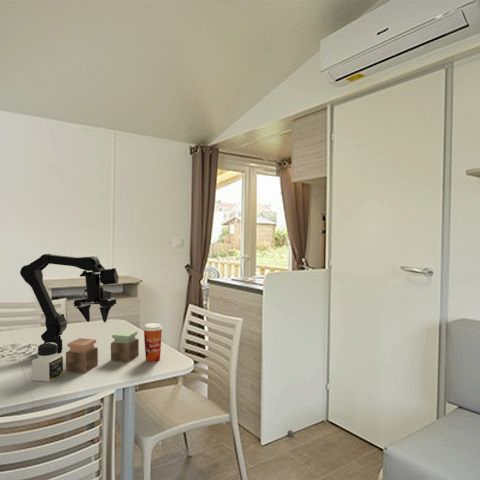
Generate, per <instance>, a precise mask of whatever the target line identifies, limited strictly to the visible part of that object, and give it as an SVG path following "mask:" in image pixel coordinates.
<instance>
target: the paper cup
mask: <svg viewBox="0 0 480 480" xmlns="http://www.w3.org/2000/svg"><path fill="white" fill-rule="evenodd" d="M142 329H143V335H144V353H145V361H146V362H148V363H155V362H159V361H160V359H161V352H162V349H161V348H162V332H163V331H162V330H163V325H162V323H156V322H154V323H153V322H152V323H146V324H144V326H143V328H142Z"/></svg>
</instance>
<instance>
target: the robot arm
mask: <svg viewBox="0 0 480 480" xmlns="http://www.w3.org/2000/svg"><path fill="white" fill-rule="evenodd" d="M49 265H57V266H58V265H59V266H67V267H75V268H77V269H80V270H83V271H82V272H81V273H80V274H79V277H84V278H85V280H84V281H85V289H84V293H86V297H81V298H78V299H74V301H73V306H74V307H76V309H78V311H79V312H80V313H81V314H82V316H83V318H84V319H85V321H86V322H87V323H89V322H90V321H91V316H90V315H91V314H90V313H91V312H90V309H91V306H92V305H99V306H100V307H99V311H100V315H101V318H102V322H103V323H106V322H107V320H108V317H109V313H110V310H111V308H112V307H114V306H115V305H116V304H117V299H116V298H115V297H112V291H107V290H104V287H103V286H107V285H117V284H119V274H118V272H117V268H116V267H112V268H105V267H104V266H103V265H102V264H101V262H100V259H99V258H98V257H97V256H81V257H80V256H79V257H75V256H67V255H56V254H51V253H44V254H42V255H41V256H40V257H38V258H37V259H35V260H34V261H31V262H30V263H29V264H26V265H23V266H22V267H21V269H20V271H19V274H20V276H21V277H22V279H23V280H24V282H25V283H26V284H28V285H29V286H30V288H31V289H32V291H33V294H34V296H35V298H36V301H37V302H38V304H39V306H40V309H41V312H42V313H43V315H44V318H45V320H44V321H45V328H46V330H45V331H44V332H43V333H42V334H41V335H40V337H41V340H42V341H43V343H56V344H57V354H58V353H59V354H61V353H63V351H62V350H63V339H62V337H61V335H63V332H65V331H66V329H67V327H68V324H67V323H68V320H67V319H66V318H65V315H64V313H61V314H60V313H59V312H57V310H56V308H55V306H54V304H53V302H52V299H51V296H50V295H49V293H48V291H47V288H46V286H45V283H44V282H43V281H44V278H43V277H44V275H43V271H44V269H46V268H47V266H49ZM101 284H103V286H101Z"/></svg>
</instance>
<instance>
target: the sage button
mask: <svg viewBox="0 0 480 480" xmlns="http://www.w3.org/2000/svg"><path fill="white" fill-rule="evenodd" d="M137 335H138V331H135V330H134V331H133V330H124V329H123V330H119V331H117V332H115V333H113V334H111V339H114V341H113V342H114V343H122V344H129V343H131V342H133V341H134V340H135V339H136V336H137Z"/></svg>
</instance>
